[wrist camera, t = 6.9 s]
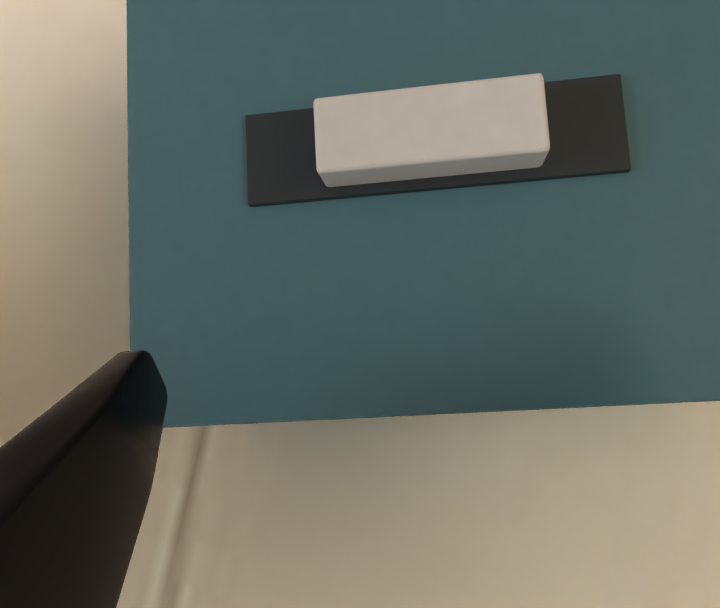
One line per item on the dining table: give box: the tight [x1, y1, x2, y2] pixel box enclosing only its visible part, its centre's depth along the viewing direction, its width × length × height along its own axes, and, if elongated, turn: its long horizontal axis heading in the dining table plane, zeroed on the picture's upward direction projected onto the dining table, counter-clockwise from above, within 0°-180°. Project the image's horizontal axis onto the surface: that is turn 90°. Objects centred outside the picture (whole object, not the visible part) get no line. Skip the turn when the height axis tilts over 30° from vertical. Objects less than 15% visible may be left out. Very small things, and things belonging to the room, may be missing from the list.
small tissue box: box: [127, 0, 720, 428], centre depth 14 cm, size 7×12×10 cm
